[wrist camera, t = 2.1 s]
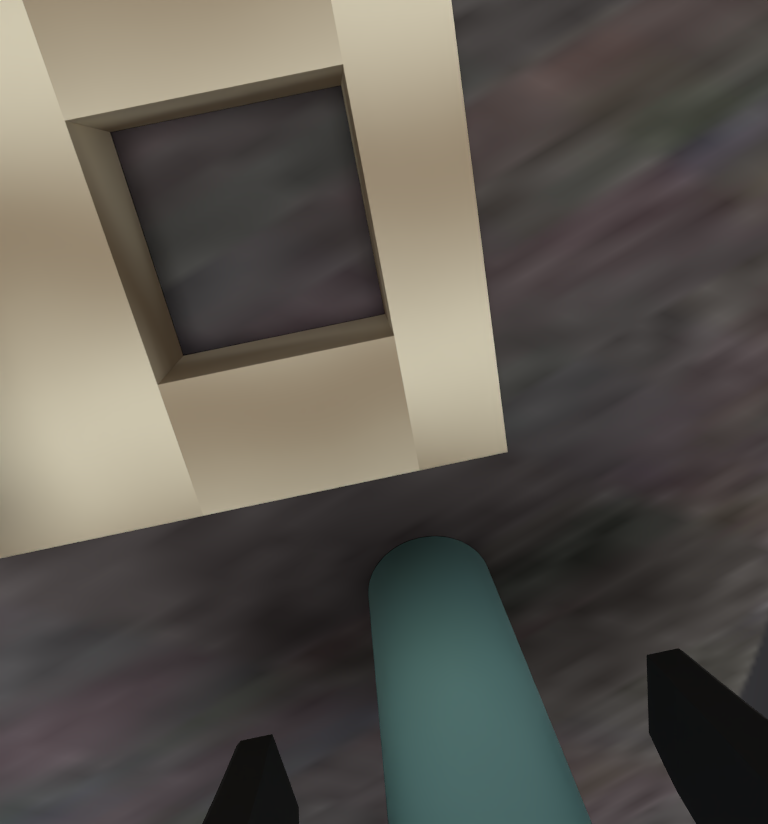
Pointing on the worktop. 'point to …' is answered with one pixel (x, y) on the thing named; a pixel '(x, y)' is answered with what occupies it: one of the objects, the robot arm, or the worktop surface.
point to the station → (142, 295)
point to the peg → (459, 698)
